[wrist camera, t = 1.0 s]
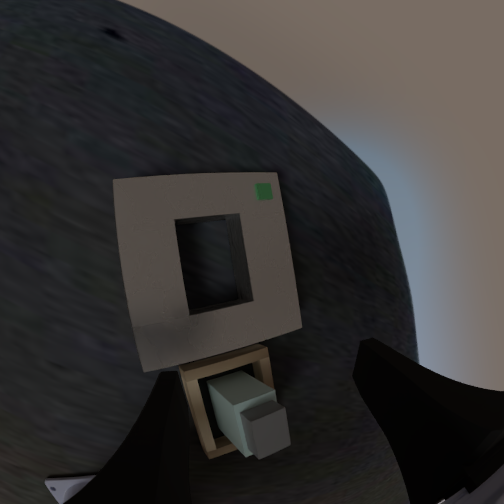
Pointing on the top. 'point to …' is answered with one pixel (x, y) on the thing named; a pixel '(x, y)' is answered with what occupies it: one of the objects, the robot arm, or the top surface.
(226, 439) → the tan square frame
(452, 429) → the robot arm
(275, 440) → the plug
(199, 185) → the port
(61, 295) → the top surface
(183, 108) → the top surface
